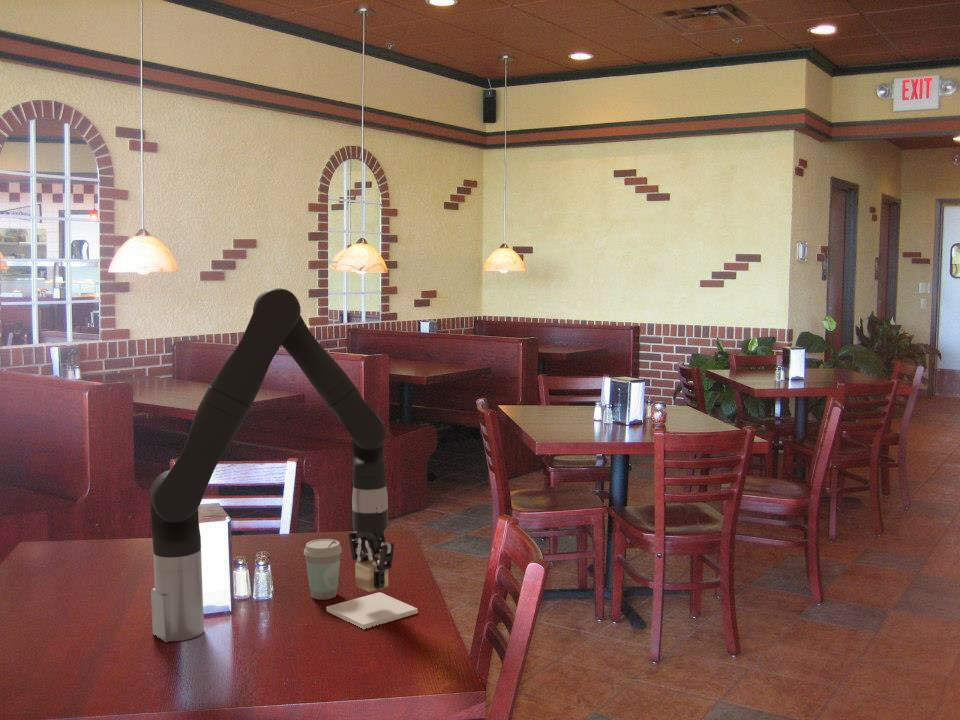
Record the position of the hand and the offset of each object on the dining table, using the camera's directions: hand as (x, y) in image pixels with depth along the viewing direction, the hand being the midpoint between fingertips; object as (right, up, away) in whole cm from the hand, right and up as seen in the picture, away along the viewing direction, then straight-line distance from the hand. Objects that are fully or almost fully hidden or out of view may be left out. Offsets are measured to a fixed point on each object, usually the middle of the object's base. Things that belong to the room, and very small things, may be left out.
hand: (371, 584), depth 211 cm
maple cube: (0, 0, 0) cm, 0 cm away
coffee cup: (-12, -5, +11) cm, 17 cm away
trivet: (0, -6, +1) cm, 6 cm away
